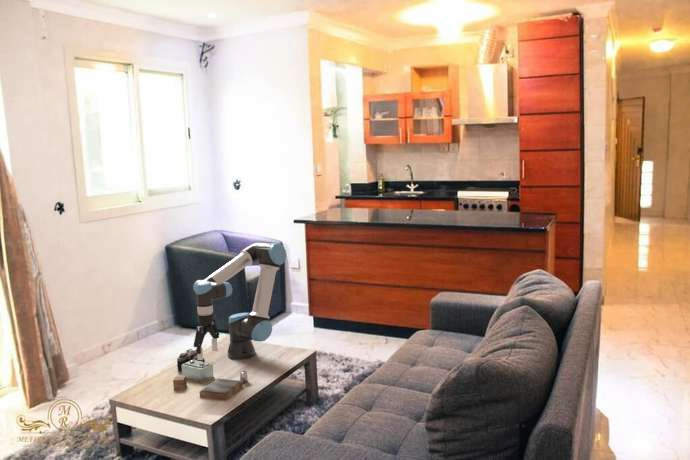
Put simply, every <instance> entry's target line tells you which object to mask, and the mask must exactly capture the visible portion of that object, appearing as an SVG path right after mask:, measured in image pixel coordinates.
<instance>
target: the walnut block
mask: <svg viewBox="0 0 690 460" xmlns="http://www.w3.org/2000/svg"><path fill="white" fill-rule="evenodd" d="M172 384H173V390H174V391H175V390H185V388H186V387H187V379H186V376H182V375H176V376H174V378H173V380H172Z"/></svg>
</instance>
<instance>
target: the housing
mask: <svg viewBox="0 0 690 460" xmlns="http://www.w3.org/2000/svg"><path fill="white" fill-rule="evenodd" d="M181 366H182V371H181V376H186V380H191V381H195V382H199V383H205V382H206V381H208V380H210V379H212V378H214V377H213V376H214V365H213V363H209V362H206V361H205V362H201V361H197V360H190V361H189V362H186V363H184V364H182V365H181ZM211 377H212V378H211ZM209 378H210V379H209Z"/></svg>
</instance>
